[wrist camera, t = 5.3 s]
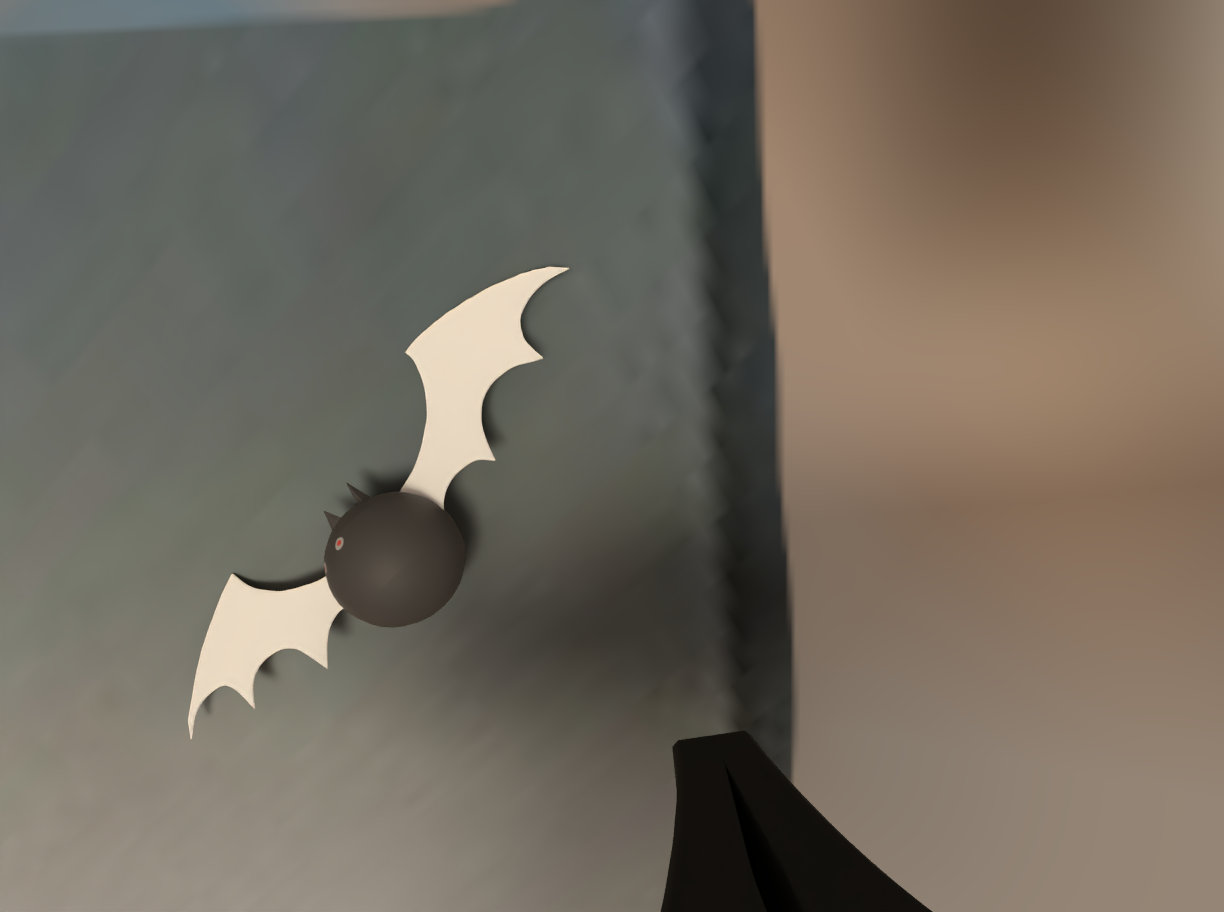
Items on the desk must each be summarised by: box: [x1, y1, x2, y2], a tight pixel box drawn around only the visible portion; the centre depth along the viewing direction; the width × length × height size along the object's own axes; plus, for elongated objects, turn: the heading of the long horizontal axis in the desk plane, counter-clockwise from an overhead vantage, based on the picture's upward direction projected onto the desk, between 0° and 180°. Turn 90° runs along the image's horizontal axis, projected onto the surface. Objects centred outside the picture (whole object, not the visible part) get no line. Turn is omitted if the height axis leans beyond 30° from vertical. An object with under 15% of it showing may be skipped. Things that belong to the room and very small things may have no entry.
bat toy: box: [188, 267, 570, 739], centre depth 14 cm, size 3×15×5 cm
